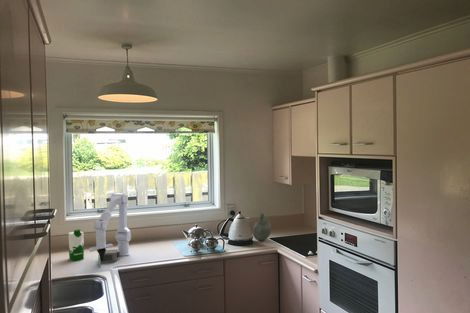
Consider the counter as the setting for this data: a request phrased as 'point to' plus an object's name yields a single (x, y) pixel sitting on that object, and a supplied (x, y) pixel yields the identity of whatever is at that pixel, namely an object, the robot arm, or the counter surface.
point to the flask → (261, 229)
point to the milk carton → (76, 245)
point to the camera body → (111, 256)
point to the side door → (99, 260)
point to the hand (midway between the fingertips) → (101, 260)
